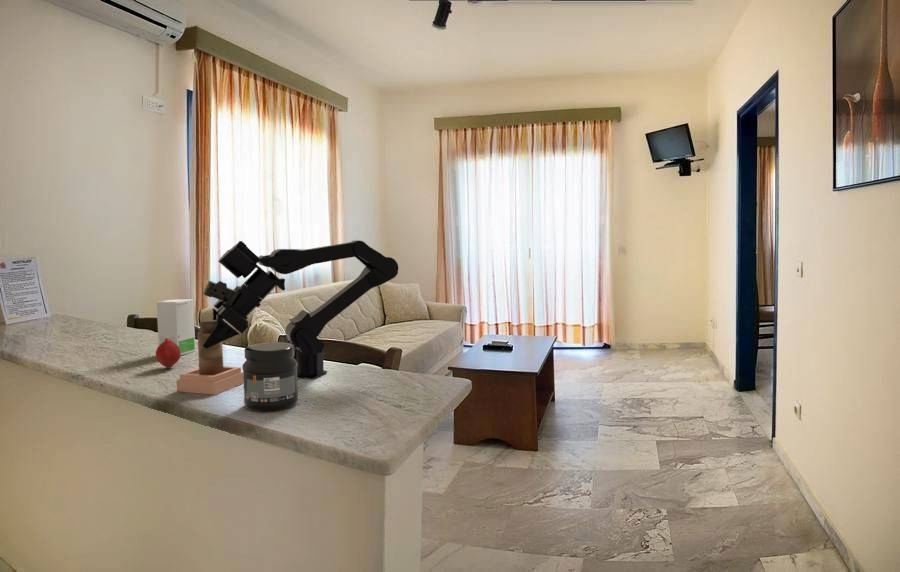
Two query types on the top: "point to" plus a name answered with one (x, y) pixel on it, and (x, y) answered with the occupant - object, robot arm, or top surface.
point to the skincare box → (177, 323)
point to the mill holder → (210, 381)
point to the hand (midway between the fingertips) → (203, 343)
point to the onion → (168, 353)
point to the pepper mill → (209, 351)
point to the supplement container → (270, 377)
